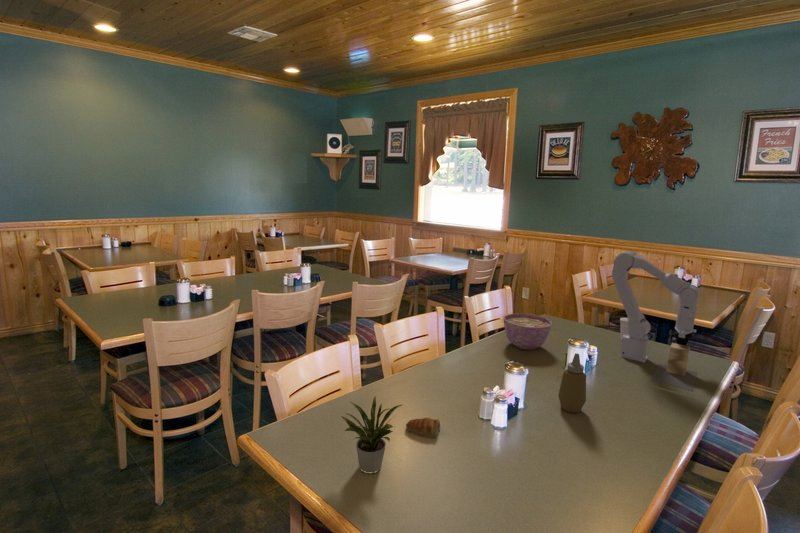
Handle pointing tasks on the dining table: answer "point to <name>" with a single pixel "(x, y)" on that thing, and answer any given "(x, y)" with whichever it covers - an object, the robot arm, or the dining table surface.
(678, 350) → the birch block
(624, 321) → the smoothie
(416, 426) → the pastry
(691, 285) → the robot arm
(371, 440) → the house plant
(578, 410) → the squeeze bottle
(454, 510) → the dining table surface
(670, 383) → the rubber mat
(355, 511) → the dining table surface
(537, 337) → the bowl of food
